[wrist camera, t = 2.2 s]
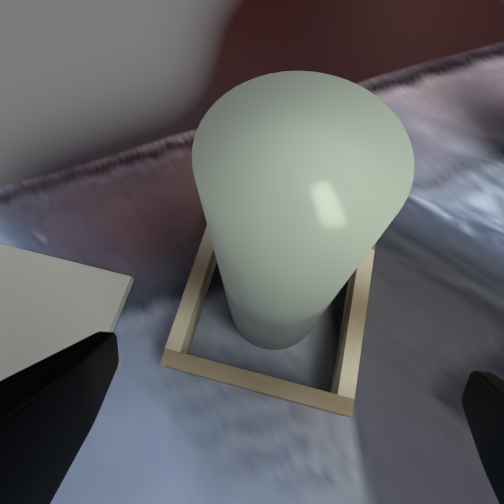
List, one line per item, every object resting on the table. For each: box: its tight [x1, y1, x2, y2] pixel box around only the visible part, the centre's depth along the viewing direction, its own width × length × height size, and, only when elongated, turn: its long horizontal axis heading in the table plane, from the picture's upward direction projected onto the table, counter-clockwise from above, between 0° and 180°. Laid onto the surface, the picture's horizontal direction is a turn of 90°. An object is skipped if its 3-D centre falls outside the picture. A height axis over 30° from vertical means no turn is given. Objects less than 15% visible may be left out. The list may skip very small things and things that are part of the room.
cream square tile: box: [0, 244, 134, 381], centre depth 20 cm, size 9×9×1 cm
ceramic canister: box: [192, 71, 414, 350], centre depth 15 cm, size 5×5×14 cm
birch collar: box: [160, 226, 376, 417], centre depth 20 cm, size 10×10×2 cm
